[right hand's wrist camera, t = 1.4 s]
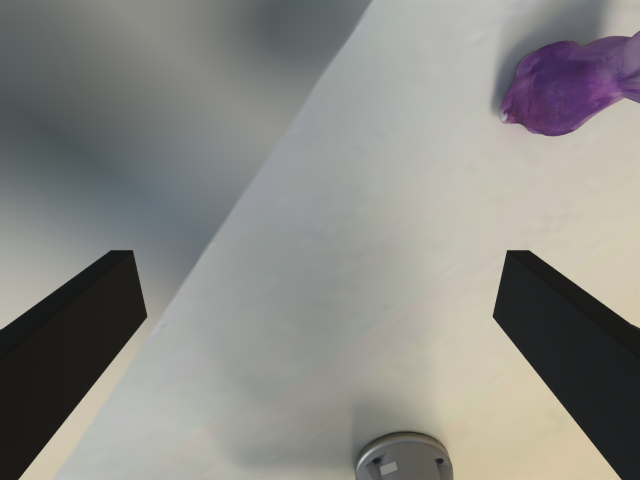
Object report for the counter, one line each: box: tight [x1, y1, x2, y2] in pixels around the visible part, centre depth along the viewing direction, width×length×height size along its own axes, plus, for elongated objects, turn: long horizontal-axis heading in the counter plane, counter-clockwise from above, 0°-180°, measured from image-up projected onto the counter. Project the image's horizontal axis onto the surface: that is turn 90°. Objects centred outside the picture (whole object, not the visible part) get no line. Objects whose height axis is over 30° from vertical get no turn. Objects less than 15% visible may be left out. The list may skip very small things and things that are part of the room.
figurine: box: [499, 31, 640, 136], centre depth 28 cm, size 9×10×15 cm
